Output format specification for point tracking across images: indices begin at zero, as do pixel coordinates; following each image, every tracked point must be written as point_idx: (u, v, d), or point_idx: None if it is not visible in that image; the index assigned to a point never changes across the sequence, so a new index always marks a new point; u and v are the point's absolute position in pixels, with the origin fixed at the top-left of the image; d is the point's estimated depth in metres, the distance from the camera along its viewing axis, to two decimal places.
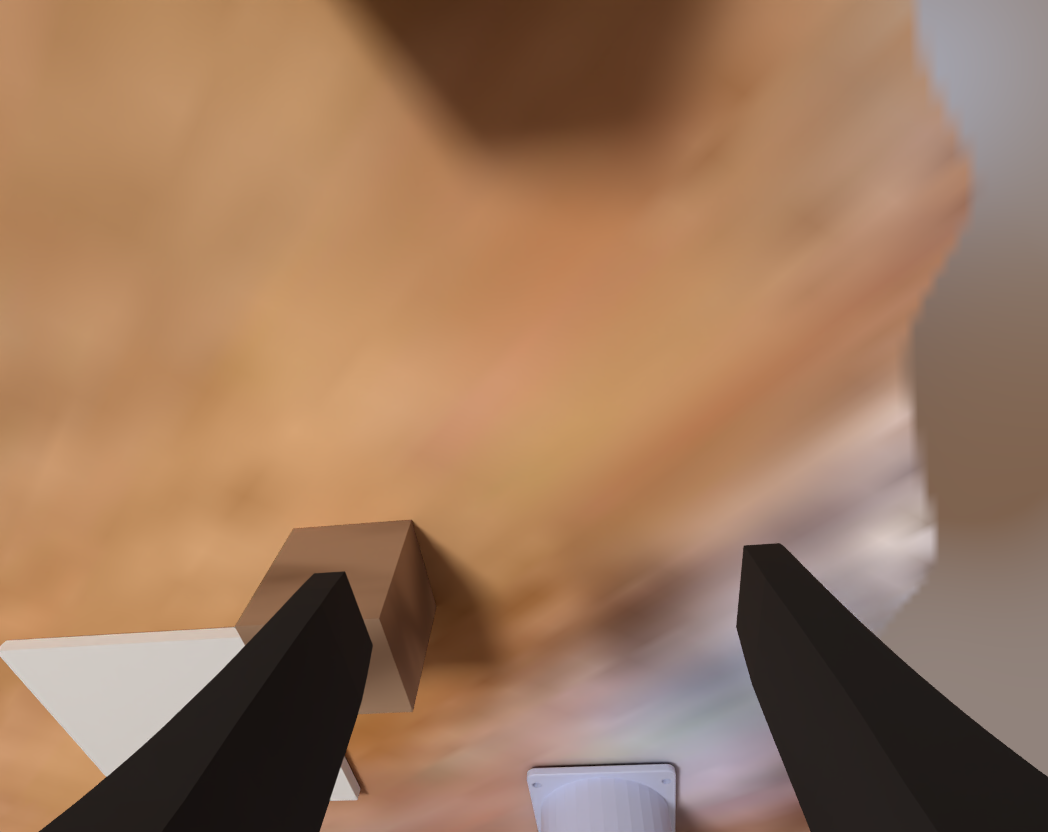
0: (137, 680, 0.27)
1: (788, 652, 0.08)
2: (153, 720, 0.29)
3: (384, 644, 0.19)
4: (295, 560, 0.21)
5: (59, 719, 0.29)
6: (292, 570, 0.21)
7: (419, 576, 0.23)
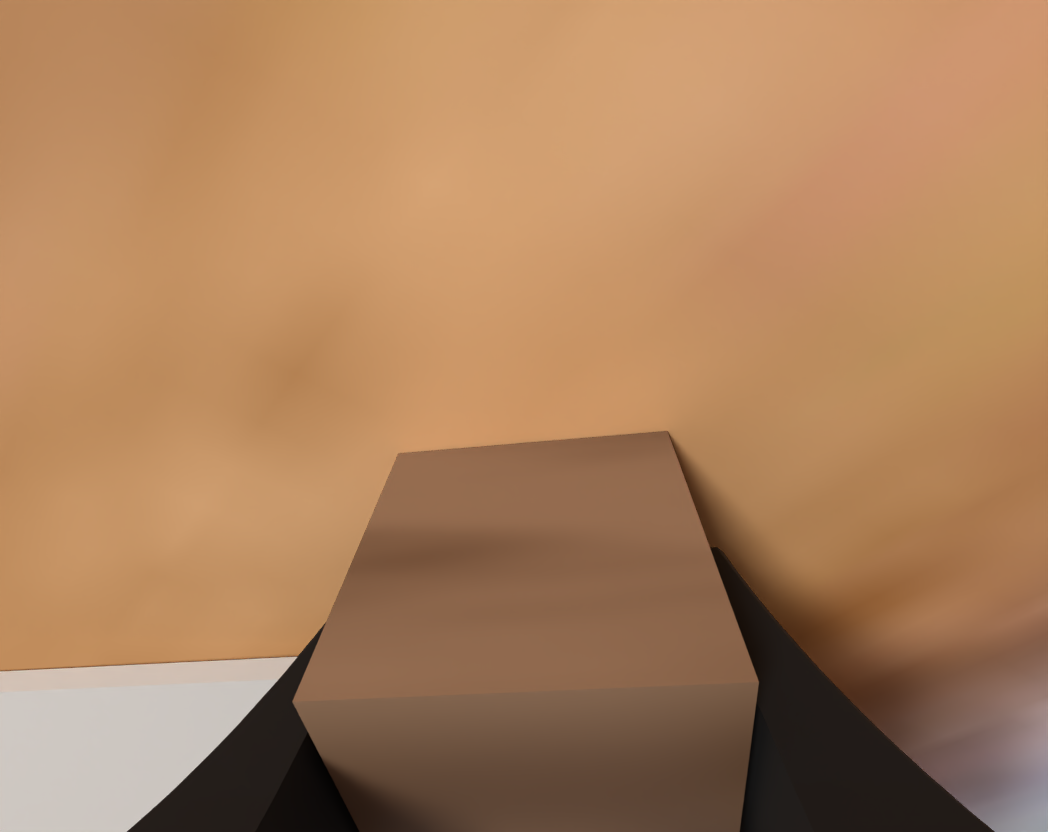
0: (80, 753, 0.15)
1: None
2: (113, 816, 0.16)
3: (738, 753, 0.06)
4: (424, 519, 0.09)
5: None
6: (423, 542, 0.08)
7: None
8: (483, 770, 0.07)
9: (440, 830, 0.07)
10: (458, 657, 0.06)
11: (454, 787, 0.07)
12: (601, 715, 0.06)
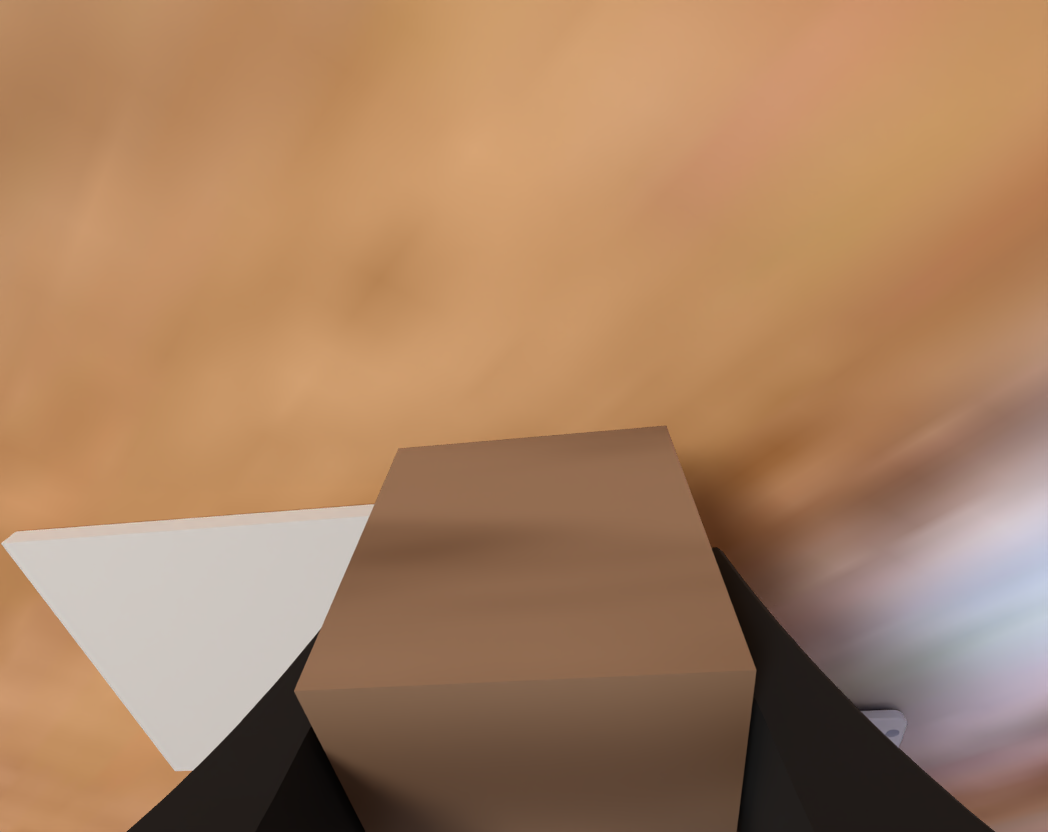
0: (196, 587, 0.20)
1: None
2: (213, 648, 0.21)
3: (735, 741, 0.06)
4: (424, 512, 0.09)
5: (86, 648, 0.22)
6: (424, 534, 0.08)
7: None
8: (484, 760, 0.07)
9: (439, 820, 0.07)
10: (458, 647, 0.06)
11: (455, 777, 0.07)
12: (600, 704, 0.06)
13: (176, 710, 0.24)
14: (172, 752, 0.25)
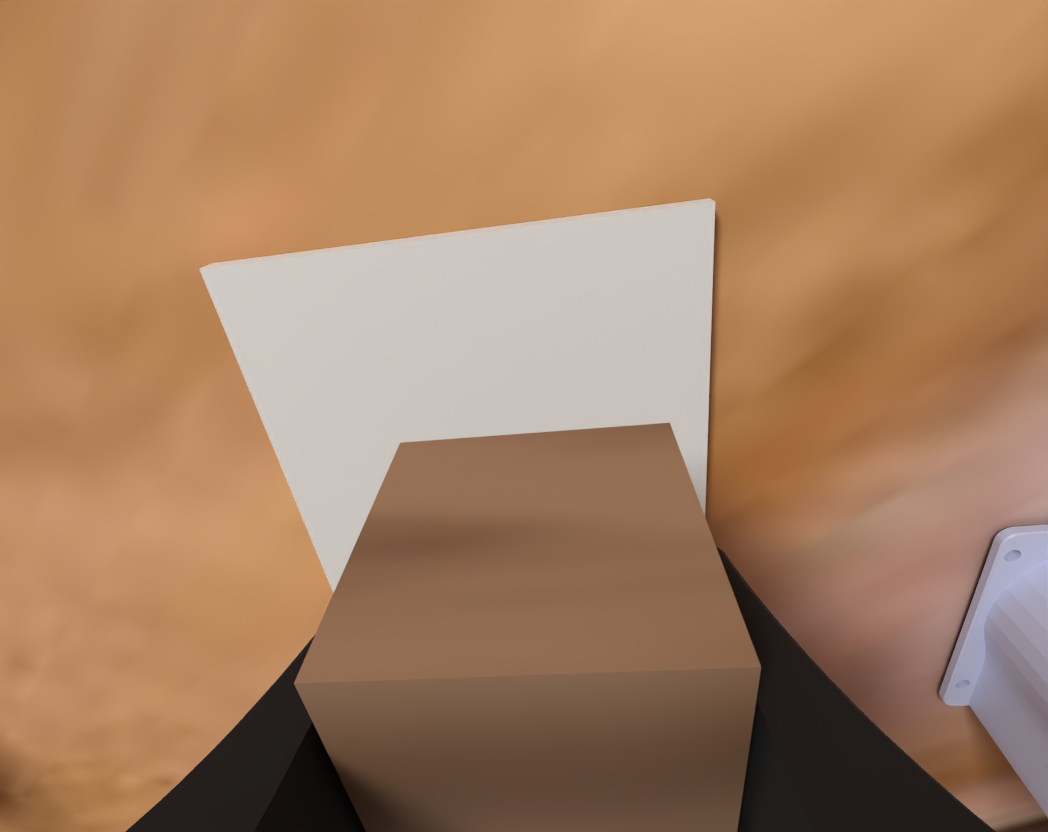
0: (429, 333, 0.16)
1: None
2: (429, 430, 0.18)
3: (738, 739, 0.06)
4: (426, 506, 0.09)
5: (274, 433, 0.18)
6: (425, 528, 0.08)
7: None
8: (484, 755, 0.07)
9: (439, 816, 0.07)
10: (460, 642, 0.06)
11: (455, 772, 0.07)
12: (603, 700, 0.06)
13: None
14: None
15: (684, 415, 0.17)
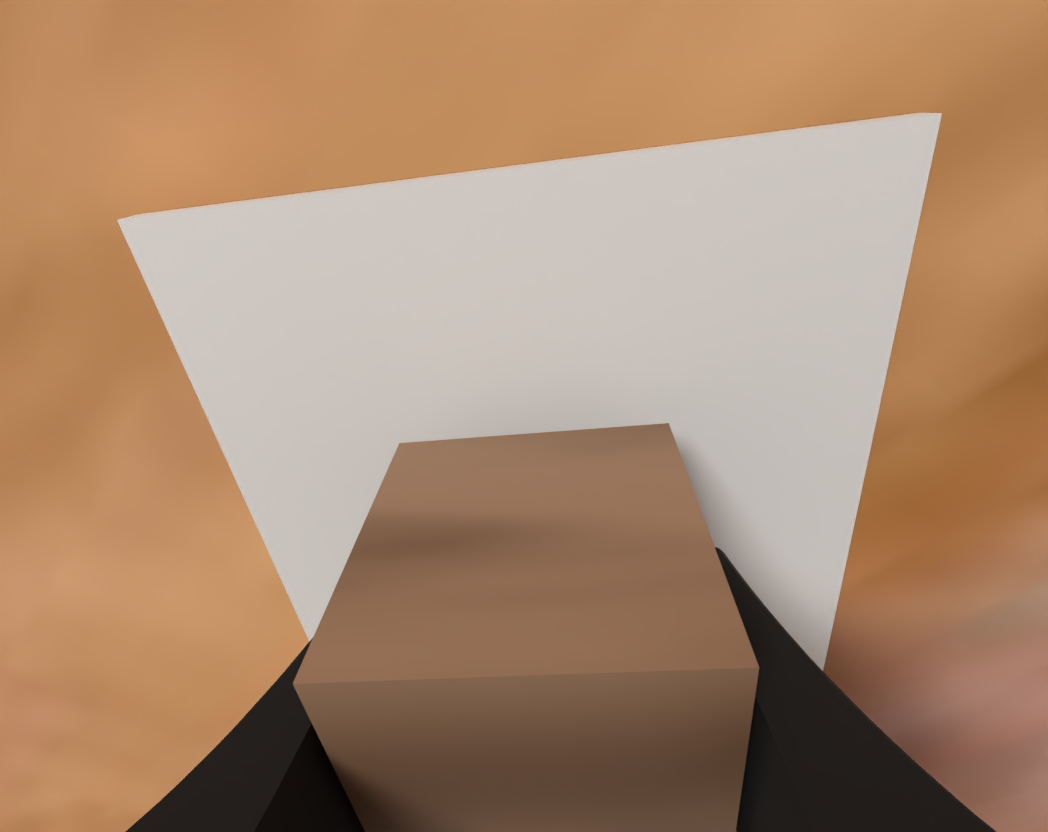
0: (469, 324, 0.11)
1: None
2: None
3: (736, 739, 0.06)
4: (424, 506, 0.09)
5: (239, 466, 0.13)
6: (424, 529, 0.08)
7: None
8: (483, 755, 0.07)
9: (438, 816, 0.07)
10: (458, 642, 0.06)
11: (453, 771, 0.07)
12: (601, 699, 0.06)
13: None
14: None
15: (835, 446, 0.12)
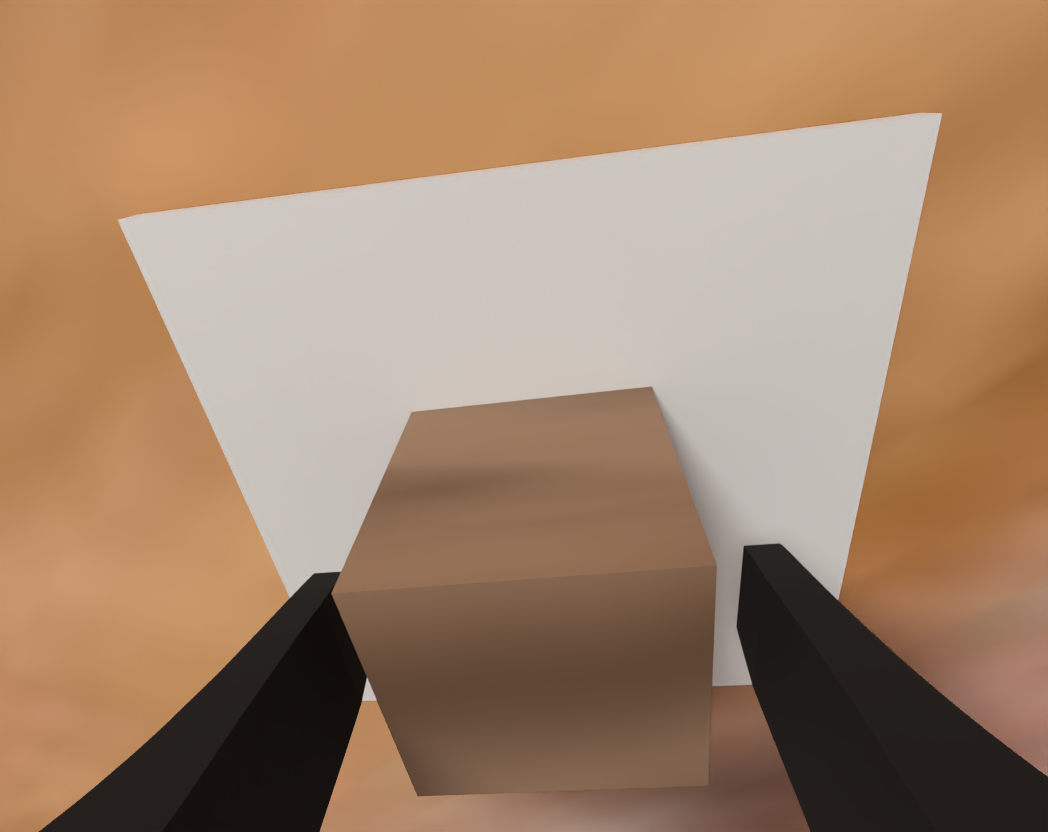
0: (469, 324, 0.11)
1: (789, 652, 0.08)
2: None
3: (704, 634, 0.08)
4: (436, 460, 0.10)
5: (239, 466, 0.13)
6: (436, 477, 0.09)
7: None
8: (491, 656, 0.08)
9: (454, 718, 0.09)
10: (469, 558, 0.08)
11: (467, 674, 0.08)
12: (587, 600, 0.07)
13: None
14: None
15: (835, 446, 0.12)
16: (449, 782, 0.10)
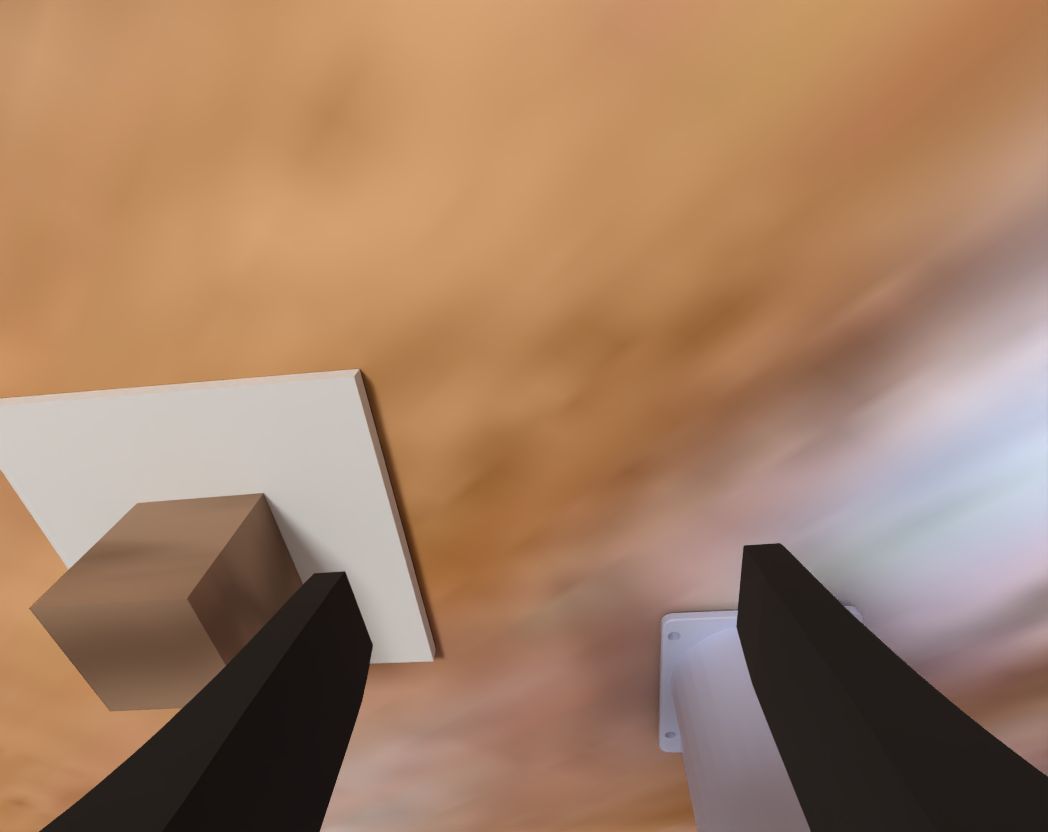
0: (155, 460, 0.20)
1: (789, 652, 0.08)
2: None
3: (199, 628, 0.17)
4: (123, 537, 0.19)
5: (46, 529, 0.22)
6: (116, 548, 0.19)
7: (274, 557, 0.21)
8: (112, 638, 0.17)
9: (109, 668, 0.18)
10: (96, 592, 0.17)
11: (105, 646, 0.17)
12: (141, 612, 0.16)
13: None
14: None
15: (376, 525, 0.21)
16: (122, 703, 0.19)
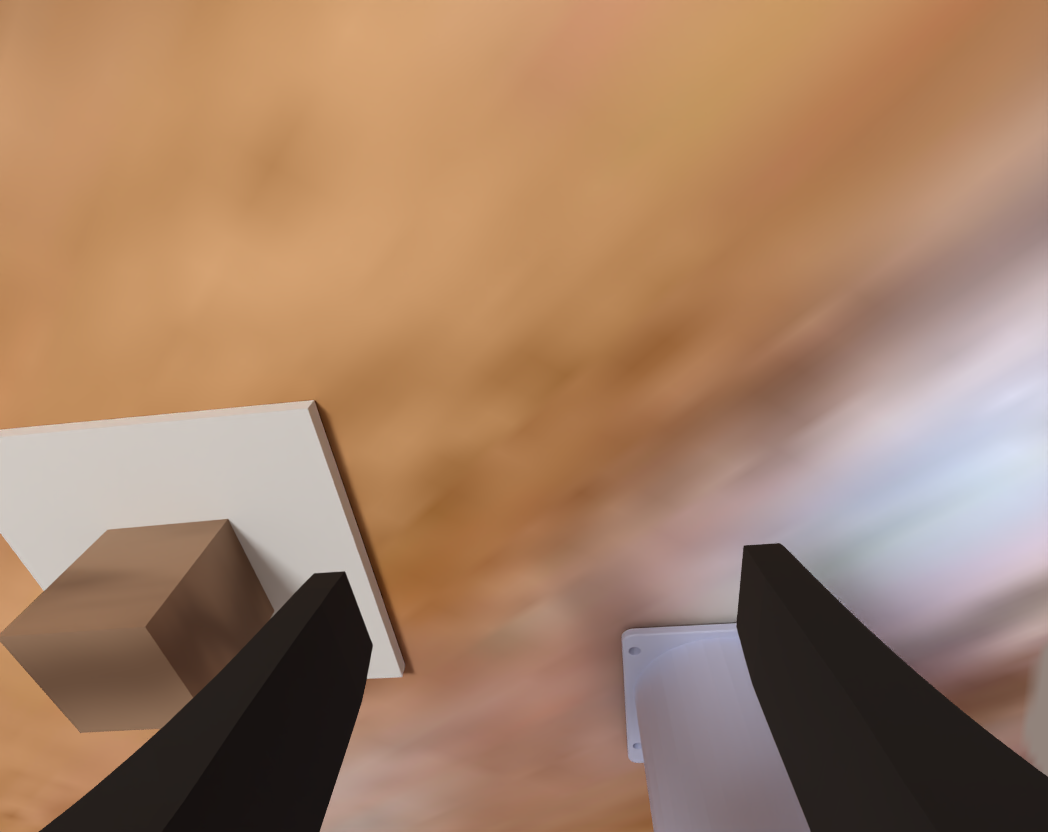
0: (122, 489, 0.21)
1: (789, 652, 0.08)
2: None
3: (160, 654, 0.17)
4: (91, 565, 0.20)
5: (22, 555, 0.23)
6: (83, 575, 0.19)
7: (239, 580, 0.21)
8: (77, 664, 0.18)
9: (76, 692, 0.19)
10: (60, 621, 0.18)
11: (71, 672, 0.18)
12: (103, 640, 0.17)
13: None
14: None
15: (338, 548, 0.22)
16: (91, 725, 0.19)
